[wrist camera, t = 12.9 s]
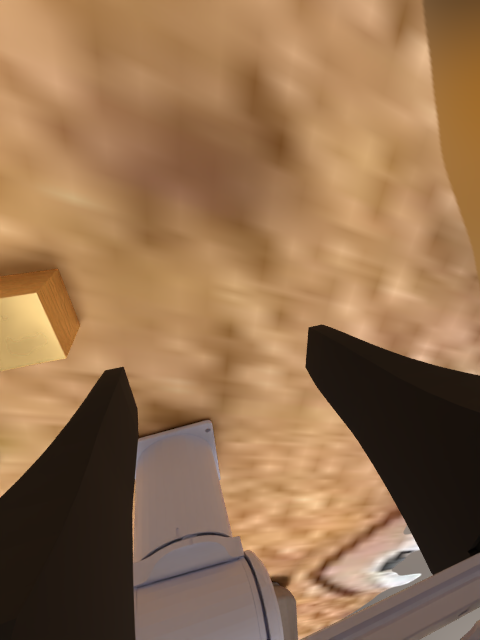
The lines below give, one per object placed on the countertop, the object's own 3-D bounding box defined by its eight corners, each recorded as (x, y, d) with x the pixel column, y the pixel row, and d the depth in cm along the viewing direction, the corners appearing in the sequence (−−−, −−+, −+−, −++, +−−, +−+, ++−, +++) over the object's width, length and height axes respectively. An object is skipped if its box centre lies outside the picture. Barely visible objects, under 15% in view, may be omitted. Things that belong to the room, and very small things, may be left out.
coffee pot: (254, 612, 55) (286, 745, 42) (216, 609, 49) (241, 764, 36) (339, 550, 52) (401, 671, 40) (310, 539, 46) (372, 678, 34)
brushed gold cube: (80, 324, 19) (66, 358, 16) (5, 337, 18) (-28, 376, 15) (58, 268, 17) (36, 292, 14) (-28, 279, 16) (-74, 309, 13)
